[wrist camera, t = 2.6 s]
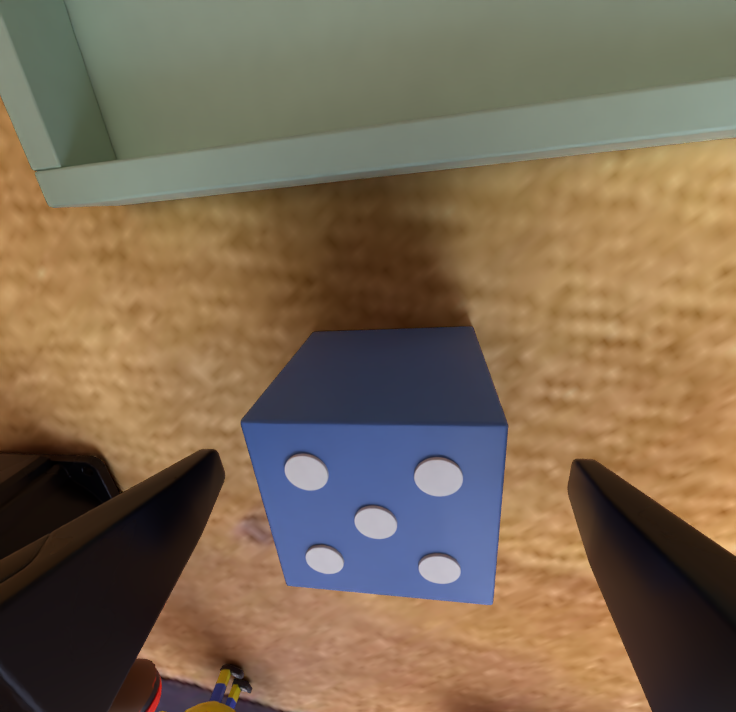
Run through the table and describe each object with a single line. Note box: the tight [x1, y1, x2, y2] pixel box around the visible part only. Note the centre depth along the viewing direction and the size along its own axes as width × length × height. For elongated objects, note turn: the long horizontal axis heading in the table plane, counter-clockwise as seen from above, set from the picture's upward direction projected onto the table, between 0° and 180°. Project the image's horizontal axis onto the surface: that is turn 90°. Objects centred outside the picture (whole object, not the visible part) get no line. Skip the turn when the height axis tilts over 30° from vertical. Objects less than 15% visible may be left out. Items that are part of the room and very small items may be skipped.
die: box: [241, 326, 508, 605], centre depth 10 cm, size 5×5×5 cm
